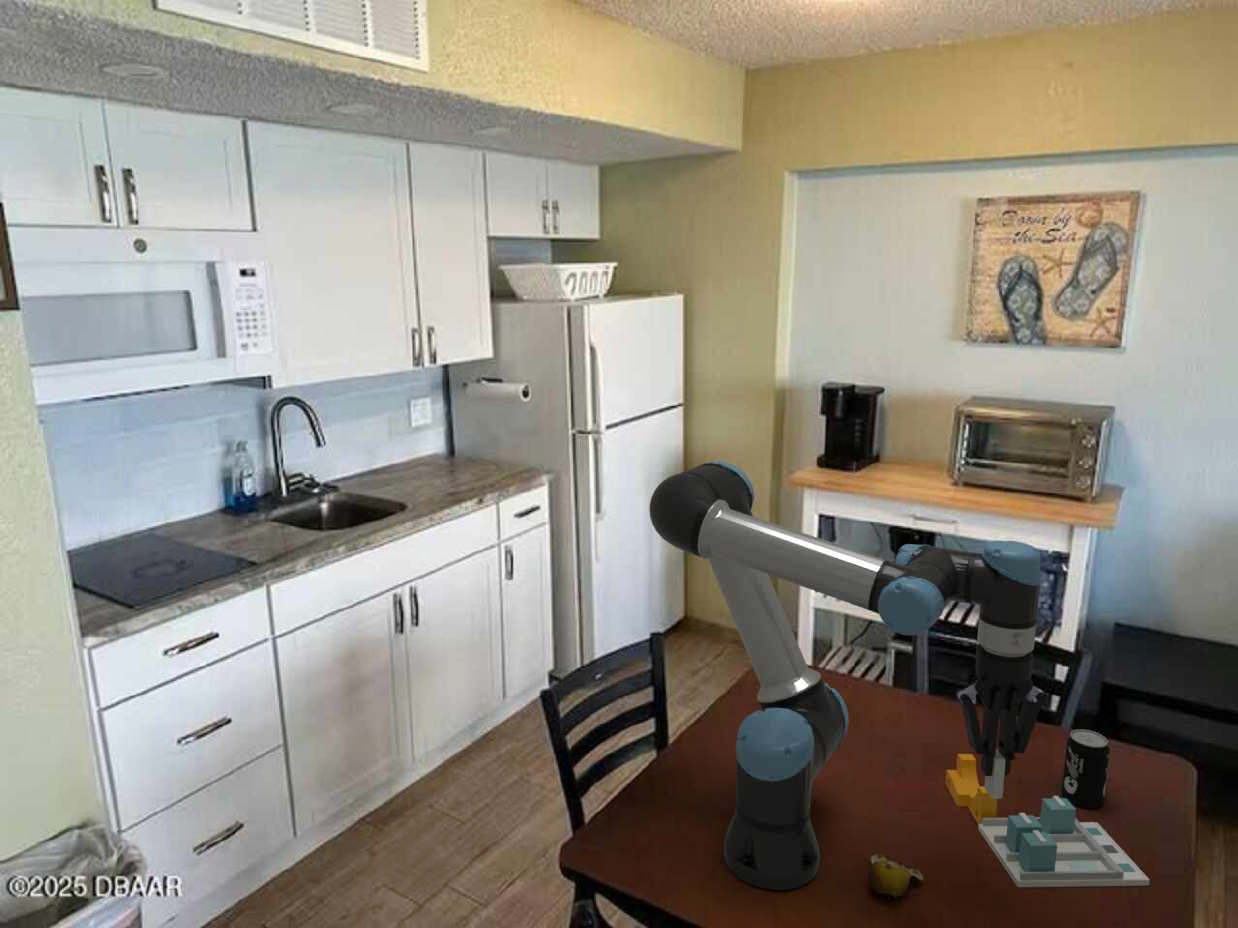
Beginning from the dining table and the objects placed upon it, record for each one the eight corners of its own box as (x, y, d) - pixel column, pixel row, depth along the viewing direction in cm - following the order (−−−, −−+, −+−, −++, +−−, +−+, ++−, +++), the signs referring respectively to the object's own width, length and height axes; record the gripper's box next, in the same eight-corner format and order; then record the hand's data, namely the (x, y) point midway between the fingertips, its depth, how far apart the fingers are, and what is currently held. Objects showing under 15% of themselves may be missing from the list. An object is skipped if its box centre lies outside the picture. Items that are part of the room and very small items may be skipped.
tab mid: (1014, 855, 131) (1017, 823, 130) (1005, 843, 134) (1008, 812, 133) (1039, 855, 131) (1042, 823, 130) (1030, 842, 134) (1033, 811, 133)
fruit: (926, 875, 128) (927, 855, 127) (909, 910, 122) (910, 889, 121) (873, 854, 133) (874, 834, 132) (854, 886, 127) (855, 866, 126)
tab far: (1048, 836, 136) (1051, 806, 135) (1039, 825, 139) (1042, 795, 137) (1073, 836, 136) (1076, 805, 135) (1063, 825, 139) (1066, 794, 137)
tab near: (1028, 874, 127) (1031, 841, 126) (1018, 861, 130) (1021, 829, 129) (1054, 874, 127) (1057, 841, 126) (1044, 860, 130) (1047, 829, 129)
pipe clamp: (945, 785, 152) (947, 753, 151) (969, 786, 152) (972, 754, 151) (968, 826, 141) (971, 792, 139) (994, 827, 141) (998, 793, 139)
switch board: (1017, 887, 126) (1019, 874, 126) (978, 828, 140) (979, 817, 139) (1148, 885, 126) (1150, 872, 126) (1096, 827, 140) (1097, 815, 140)
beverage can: (1102, 814, 143) (1110, 751, 141) (1059, 802, 147) (1066, 740, 144) (1104, 795, 149) (1111, 734, 146) (1062, 784, 152) (1069, 724, 150)
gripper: (971, 659, 117) (960, 809, 122) (1063, 657, 117) (1049, 807, 122) (950, 637, 125) (940, 779, 129) (1036, 636, 125) (1024, 778, 129)
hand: (993, 793), depth 126 cm, fingers closed
